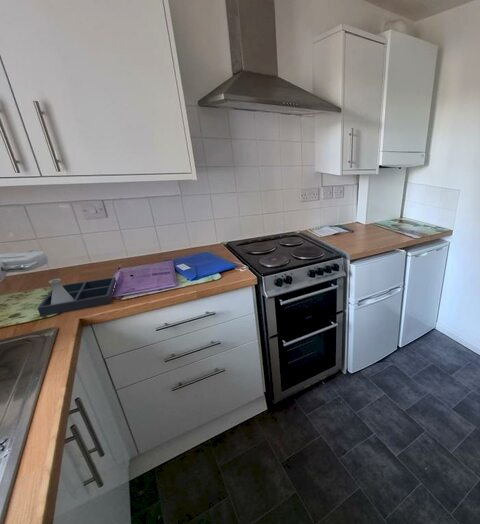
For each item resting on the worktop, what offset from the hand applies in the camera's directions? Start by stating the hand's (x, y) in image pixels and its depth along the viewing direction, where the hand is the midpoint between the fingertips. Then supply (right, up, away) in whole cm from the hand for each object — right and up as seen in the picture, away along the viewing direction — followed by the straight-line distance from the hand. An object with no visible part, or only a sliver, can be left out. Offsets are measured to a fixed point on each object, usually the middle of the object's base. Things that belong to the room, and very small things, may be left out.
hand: (16, 254), depth 90 cm
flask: (-4, -19, +19) cm, 27 cm away
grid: (-3, -17, +26) cm, 31 cm away
